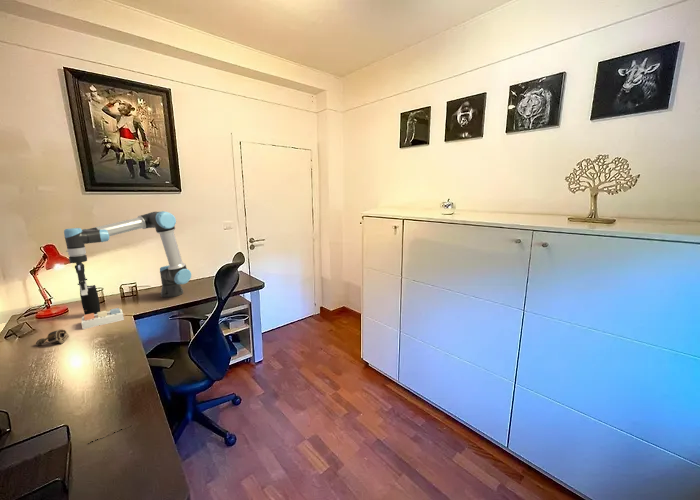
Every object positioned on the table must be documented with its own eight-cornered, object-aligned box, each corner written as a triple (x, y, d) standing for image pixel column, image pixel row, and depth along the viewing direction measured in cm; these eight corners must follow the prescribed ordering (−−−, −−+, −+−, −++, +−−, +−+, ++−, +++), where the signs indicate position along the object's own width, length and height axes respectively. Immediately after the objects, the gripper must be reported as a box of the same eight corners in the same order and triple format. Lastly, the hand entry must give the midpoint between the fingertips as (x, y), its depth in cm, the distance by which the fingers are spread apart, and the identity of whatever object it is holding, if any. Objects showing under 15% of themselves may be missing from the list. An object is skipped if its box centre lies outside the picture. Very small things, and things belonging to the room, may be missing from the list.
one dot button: (119, 312, 187) (118, 307, 186) (120, 314, 183) (119, 309, 183) (110, 314, 184) (109, 309, 183) (111, 316, 180) (110, 311, 180)
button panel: (122, 314, 191) (121, 308, 190) (123, 319, 182) (122, 313, 181) (83, 323, 179) (81, 316, 178) (82, 329, 170) (81, 322, 169)
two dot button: (107, 314, 183) (106, 310, 182) (107, 316, 179) (106, 312, 179) (98, 316, 180) (97, 312, 179) (98, 318, 177) (97, 314, 176)
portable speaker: (89, 318, 187) (84, 289, 183) (81, 316, 190) (75, 287, 187) (104, 313, 194) (99, 285, 191) (96, 311, 198) (90, 284, 194)
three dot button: (94, 317, 179) (93, 312, 178) (94, 319, 176) (93, 314, 175) (85, 319, 176) (84, 314, 176) (84, 321, 173) (83, 317, 172)
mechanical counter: (48, 339, 146) (69, 326, 155) (27, 335, 148) (49, 323, 157) (54, 350, 149) (74, 337, 158) (33, 347, 151) (54, 334, 160)
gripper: (69, 254, 175) (76, 290, 179) (67, 258, 159) (75, 299, 163) (86, 252, 180) (93, 288, 183) (85, 256, 164) (93, 295, 168)
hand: (84, 293), depth 173 cm, fingers open, 8 cm apart
